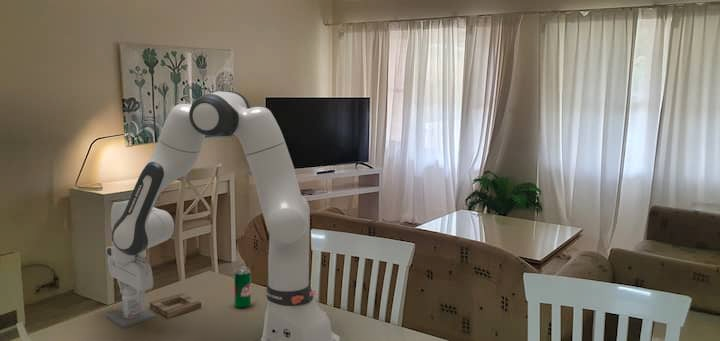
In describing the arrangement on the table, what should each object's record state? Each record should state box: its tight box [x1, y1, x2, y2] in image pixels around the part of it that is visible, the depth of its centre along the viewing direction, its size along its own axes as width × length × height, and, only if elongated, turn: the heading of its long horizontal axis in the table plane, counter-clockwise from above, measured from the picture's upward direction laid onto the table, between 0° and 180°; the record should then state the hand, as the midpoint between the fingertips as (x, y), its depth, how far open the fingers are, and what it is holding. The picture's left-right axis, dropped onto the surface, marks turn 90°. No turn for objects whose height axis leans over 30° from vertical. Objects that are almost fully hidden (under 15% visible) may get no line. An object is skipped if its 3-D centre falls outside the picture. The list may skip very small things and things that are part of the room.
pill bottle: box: [121, 285, 141, 318], centre depth 159 cm, size 5×5×8 cm
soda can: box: [233, 266, 252, 309], centre depth 170 cm, size 5×5×12 cm
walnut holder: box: [149, 292, 202, 319], centre depth 167 cm, size 11×11×2 cm
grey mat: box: [106, 305, 157, 328], centre depth 160 cm, size 10×10×1 cm
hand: (131, 297), depth 159 cm, fingers open, 8 cm apart
